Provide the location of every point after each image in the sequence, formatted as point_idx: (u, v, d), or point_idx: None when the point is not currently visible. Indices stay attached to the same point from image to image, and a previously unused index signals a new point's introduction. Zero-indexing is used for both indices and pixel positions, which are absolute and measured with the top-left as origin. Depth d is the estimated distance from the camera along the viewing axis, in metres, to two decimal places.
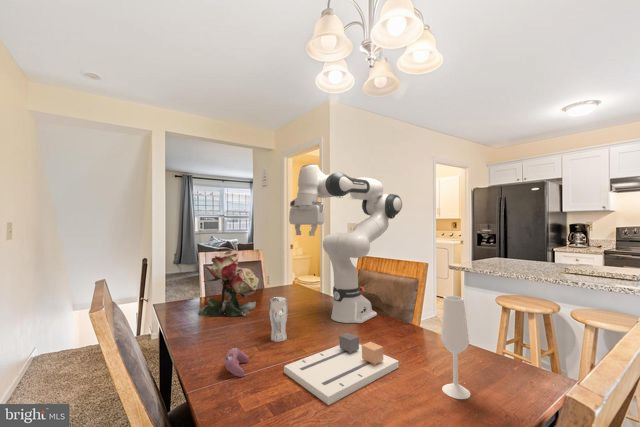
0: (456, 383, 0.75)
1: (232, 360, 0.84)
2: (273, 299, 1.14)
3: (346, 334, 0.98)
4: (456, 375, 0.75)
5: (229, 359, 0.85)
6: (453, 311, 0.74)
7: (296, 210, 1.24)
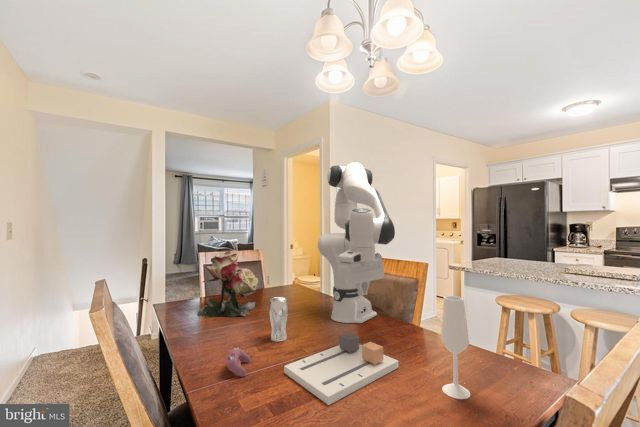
0: (456, 383, 0.75)
1: (234, 360, 0.84)
2: (273, 299, 1.14)
3: (346, 334, 0.98)
4: (456, 375, 0.75)
5: (231, 359, 0.85)
6: (453, 311, 0.74)
7: (357, 266, 0.97)
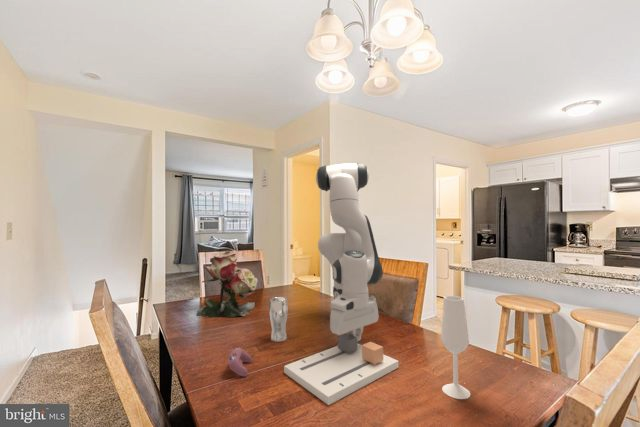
0: (456, 383, 0.75)
1: (236, 360, 0.84)
2: (273, 299, 1.14)
3: (345, 335, 0.97)
4: (456, 375, 0.75)
5: (233, 359, 0.85)
6: (453, 311, 0.74)
7: (349, 313, 0.94)
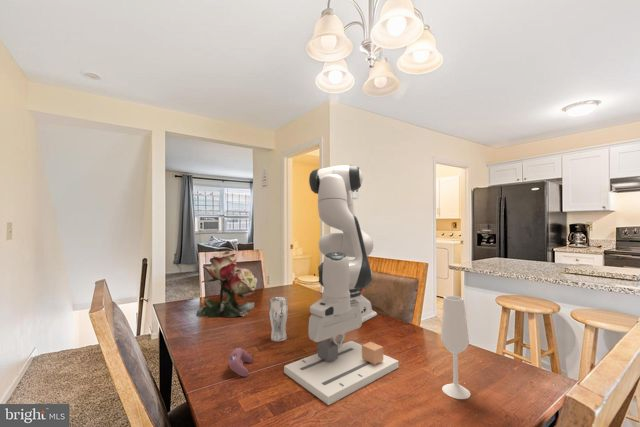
0: (456, 383, 0.75)
1: (236, 360, 0.84)
2: (273, 299, 1.14)
3: (325, 342, 0.92)
4: (456, 375, 0.75)
5: (233, 359, 0.85)
6: (453, 311, 0.74)
7: (329, 319, 0.88)
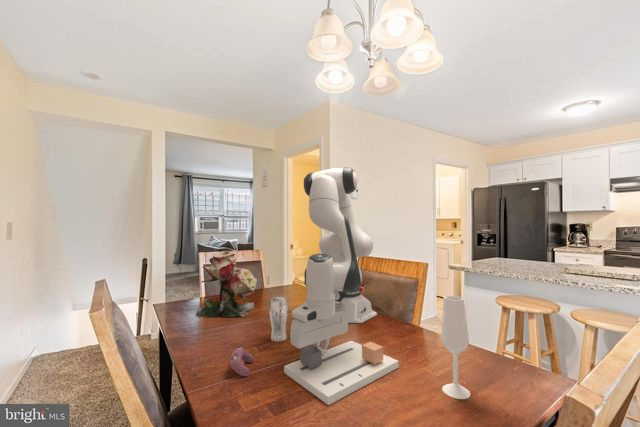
0: (456, 383, 0.75)
1: (237, 360, 0.85)
2: (273, 299, 1.14)
3: (308, 347, 0.88)
4: (456, 375, 0.75)
5: (234, 359, 0.85)
6: (453, 311, 0.74)
7: (312, 324, 0.84)
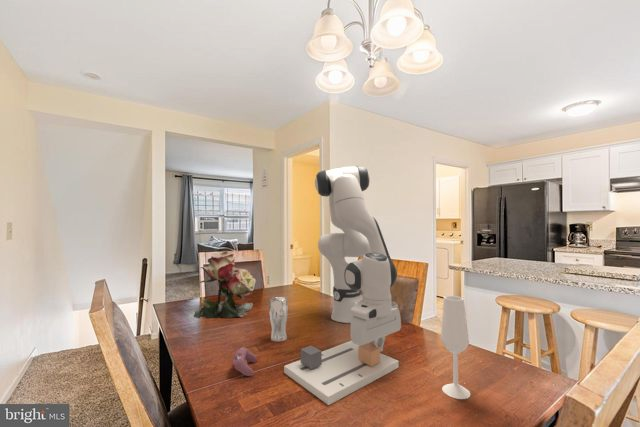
0: (456, 383, 0.75)
1: (241, 359, 0.85)
2: (273, 299, 1.14)
3: (308, 347, 0.88)
4: (456, 375, 0.75)
5: (238, 358, 0.85)
6: (453, 311, 0.74)
7: (372, 322, 0.85)
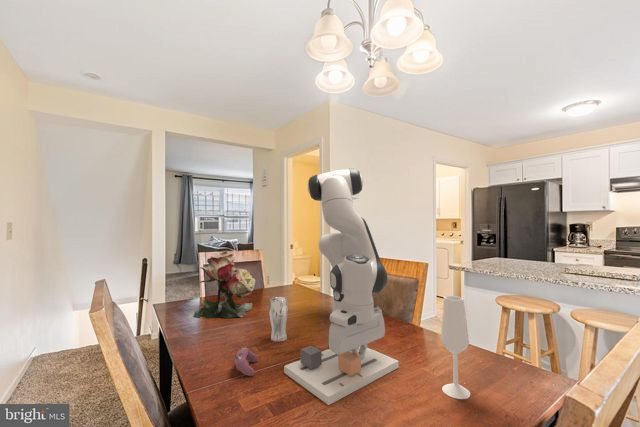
0: (456, 383, 0.75)
1: (242, 359, 0.85)
2: (273, 299, 1.14)
3: (308, 347, 0.88)
4: (456, 375, 0.75)
5: (239, 358, 0.85)
6: (453, 311, 0.74)
7: (352, 329, 0.80)
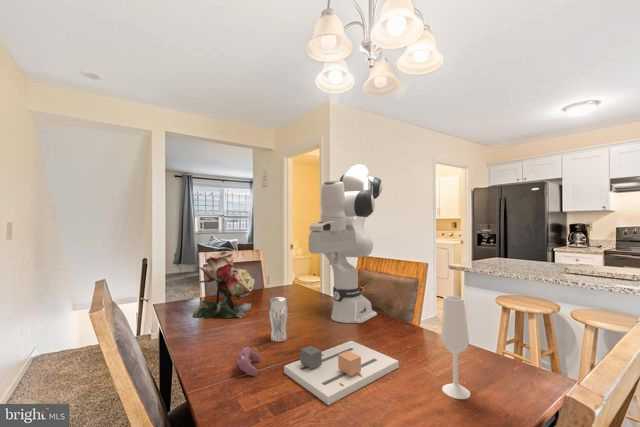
0: (456, 383, 0.75)
1: (245, 359, 0.85)
2: (273, 299, 1.14)
3: (308, 347, 0.88)
4: (456, 375, 0.75)
5: (242, 358, 0.85)
6: (453, 311, 0.74)
7: (327, 235, 0.99)
